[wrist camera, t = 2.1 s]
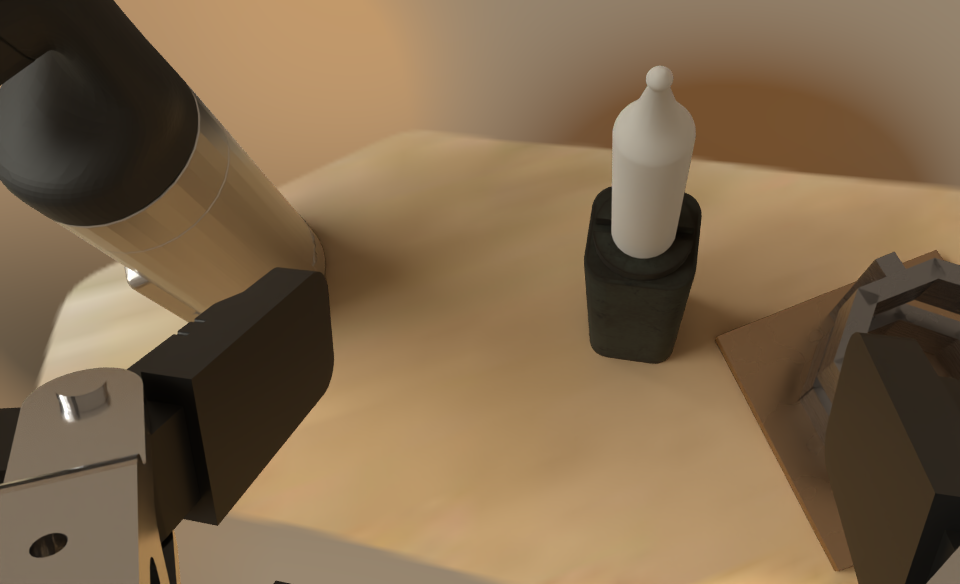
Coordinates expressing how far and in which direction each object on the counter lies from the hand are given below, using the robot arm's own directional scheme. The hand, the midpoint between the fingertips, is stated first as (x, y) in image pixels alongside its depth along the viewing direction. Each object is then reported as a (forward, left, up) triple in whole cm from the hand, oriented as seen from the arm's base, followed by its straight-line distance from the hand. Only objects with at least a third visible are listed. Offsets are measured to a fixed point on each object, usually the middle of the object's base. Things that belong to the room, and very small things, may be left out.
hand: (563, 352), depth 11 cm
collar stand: (+18, 0, -34) cm, 38 cm away
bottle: (+7, +10, -34) cm, 36 cm away
